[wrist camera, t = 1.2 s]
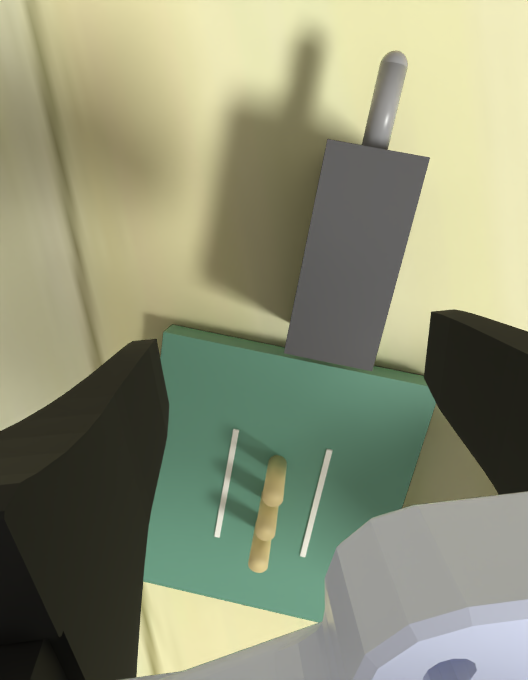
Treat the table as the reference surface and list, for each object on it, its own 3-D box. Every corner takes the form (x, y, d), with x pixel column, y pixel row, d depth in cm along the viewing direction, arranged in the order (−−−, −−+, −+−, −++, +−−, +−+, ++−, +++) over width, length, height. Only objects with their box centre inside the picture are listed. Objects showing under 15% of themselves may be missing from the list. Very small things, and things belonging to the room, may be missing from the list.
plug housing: (425, 84, 20) (460, 46, 15) (360, 337, 23) (372, 371, 19) (341, 70, 20) (350, 27, 15) (289, 323, 24) (283, 353, 19)
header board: (432, 377, 24) (459, 416, 19) (359, 610, 28) (367, 683, 24) (172, 324, 24) (141, 350, 20) (143, 560, 29) (113, 622, 25)
